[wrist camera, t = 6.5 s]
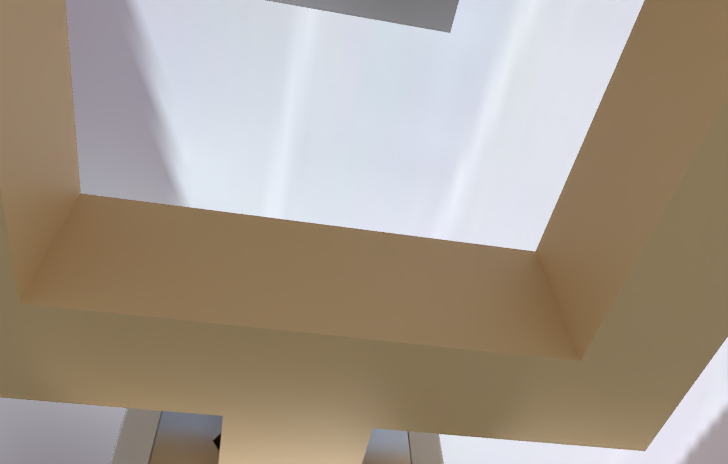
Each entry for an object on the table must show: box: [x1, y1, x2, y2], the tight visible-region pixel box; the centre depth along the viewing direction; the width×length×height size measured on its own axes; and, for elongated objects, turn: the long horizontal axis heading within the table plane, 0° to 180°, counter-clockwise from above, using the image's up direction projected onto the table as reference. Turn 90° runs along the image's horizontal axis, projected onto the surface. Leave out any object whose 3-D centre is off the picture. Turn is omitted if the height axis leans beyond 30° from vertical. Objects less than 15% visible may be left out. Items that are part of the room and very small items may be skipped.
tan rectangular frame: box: [0, 0, 728, 464], centre depth 7 cm, size 14×9×2 cm, turn 169°
